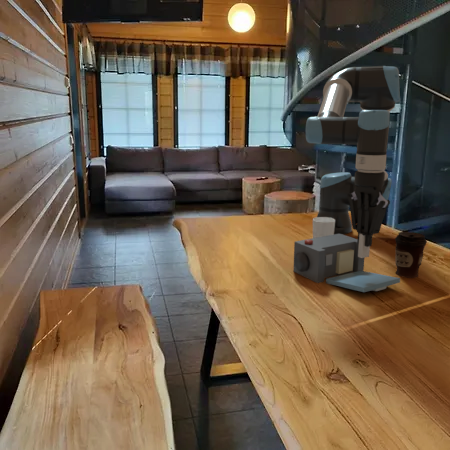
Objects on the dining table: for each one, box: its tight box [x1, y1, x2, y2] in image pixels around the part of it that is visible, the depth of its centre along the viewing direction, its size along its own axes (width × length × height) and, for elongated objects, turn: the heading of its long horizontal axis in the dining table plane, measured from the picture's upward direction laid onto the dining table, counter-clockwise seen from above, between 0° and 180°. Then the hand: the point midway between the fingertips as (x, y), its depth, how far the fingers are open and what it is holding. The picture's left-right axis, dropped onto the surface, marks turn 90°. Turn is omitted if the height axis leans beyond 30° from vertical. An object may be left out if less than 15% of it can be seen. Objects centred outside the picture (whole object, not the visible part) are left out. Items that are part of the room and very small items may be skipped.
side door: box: [325, 270, 401, 293], centre depth 128 cm, size 14×2×14 cm
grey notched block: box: [292, 234, 365, 284], centre depth 138 cm, size 19×11×11 cm, turn 120°
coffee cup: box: [394, 231, 428, 279], centre depth 136 cm, size 9×8×13 cm
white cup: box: [312, 216, 335, 238], centre depth 166 cm, size 8×8×10 cm
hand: (363, 256), depth 126 cm, fingers closed
